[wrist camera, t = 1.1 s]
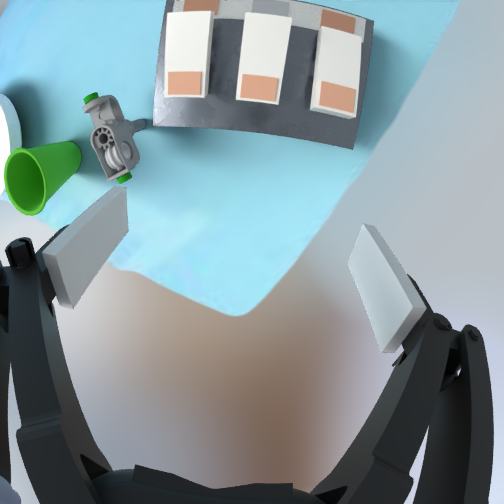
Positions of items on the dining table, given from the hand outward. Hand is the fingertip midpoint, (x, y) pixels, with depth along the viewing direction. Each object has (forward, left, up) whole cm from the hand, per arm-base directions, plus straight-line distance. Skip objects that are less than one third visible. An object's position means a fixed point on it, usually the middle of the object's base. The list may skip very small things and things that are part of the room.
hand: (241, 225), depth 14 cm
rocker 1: (-11, -7, -14) cm, 19 cm away
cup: (+2, -27, -22) cm, 35 cm away
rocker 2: (-11, 0, -14) cm, 17 cm away
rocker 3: (-11, +7, -14) cm, 19 cm away
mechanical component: (-2, -15, -22) cm, 26 cm away
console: (-11, 0, -21) cm, 24 cm away
